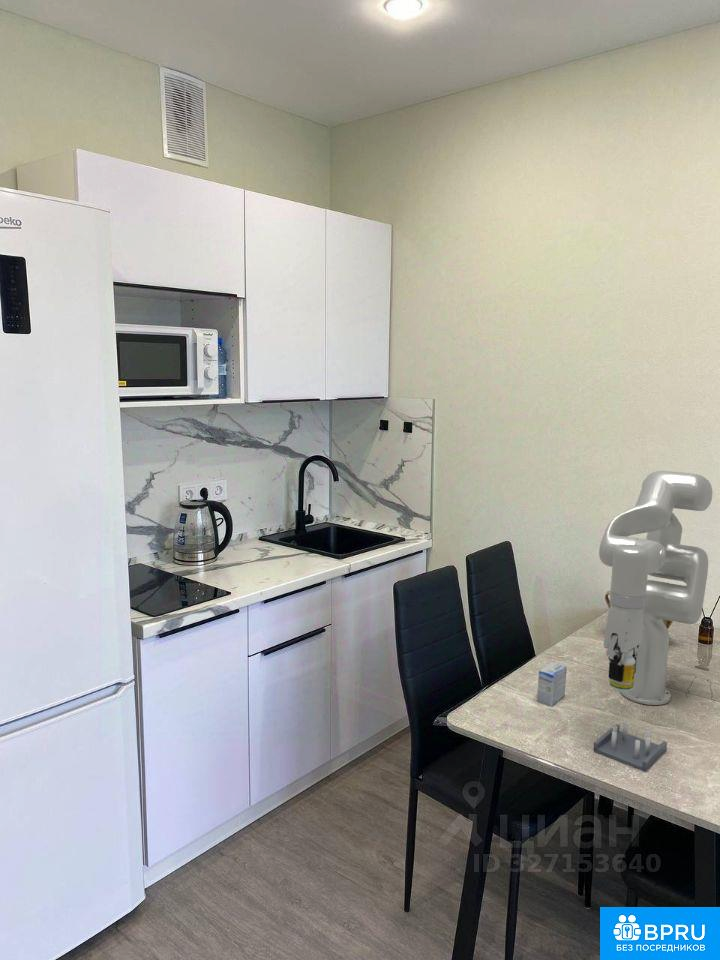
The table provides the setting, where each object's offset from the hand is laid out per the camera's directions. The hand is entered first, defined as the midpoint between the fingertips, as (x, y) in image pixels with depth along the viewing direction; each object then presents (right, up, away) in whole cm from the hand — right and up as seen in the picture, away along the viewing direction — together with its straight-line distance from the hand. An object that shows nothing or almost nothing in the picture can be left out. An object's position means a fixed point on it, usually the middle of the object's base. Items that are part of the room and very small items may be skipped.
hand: (621, 675), depth 165 cm
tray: (+2, -18, +1) cm, 18 cm away
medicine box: (-9, -14, +26) cm, 31 cm away
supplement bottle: (0, -3, 0) cm, 3 cm away
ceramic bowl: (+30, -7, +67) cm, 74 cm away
